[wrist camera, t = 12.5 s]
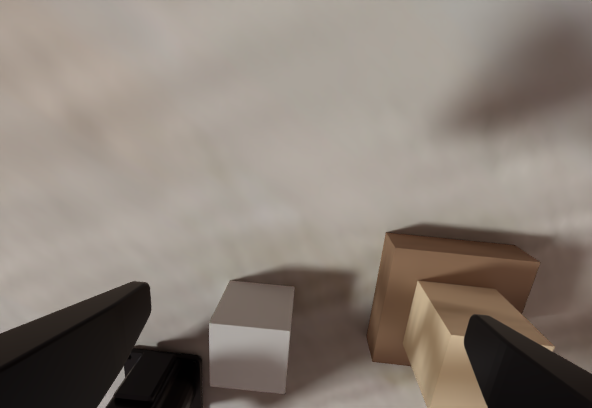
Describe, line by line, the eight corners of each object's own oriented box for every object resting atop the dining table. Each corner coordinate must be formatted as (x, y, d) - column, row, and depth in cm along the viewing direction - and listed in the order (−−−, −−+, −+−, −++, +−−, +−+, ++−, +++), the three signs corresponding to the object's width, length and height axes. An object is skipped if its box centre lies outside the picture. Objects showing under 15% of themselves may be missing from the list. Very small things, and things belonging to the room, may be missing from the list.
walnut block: (477, 344, 24) (499, 375, 21) (365, 332, 25) (372, 361, 22) (510, 242, 22) (540, 262, 19) (384, 229, 22) (395, 247, 19)
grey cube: (290, 339, 25) (284, 394, 20) (229, 333, 25) (209, 386, 20) (294, 286, 23) (290, 331, 18) (230, 279, 23) (209, 323, 19)
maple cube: (474, 351, 21) (522, 422, 16) (402, 343, 21) (428, 411, 16) (495, 289, 19) (554, 346, 15) (417, 280, 20) (451, 334, 15)
